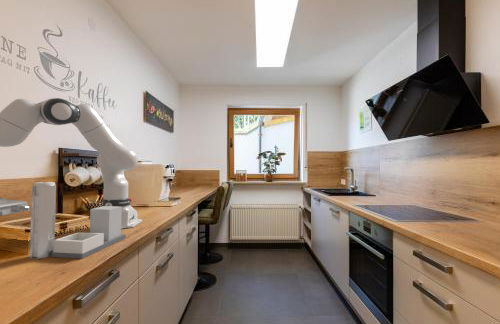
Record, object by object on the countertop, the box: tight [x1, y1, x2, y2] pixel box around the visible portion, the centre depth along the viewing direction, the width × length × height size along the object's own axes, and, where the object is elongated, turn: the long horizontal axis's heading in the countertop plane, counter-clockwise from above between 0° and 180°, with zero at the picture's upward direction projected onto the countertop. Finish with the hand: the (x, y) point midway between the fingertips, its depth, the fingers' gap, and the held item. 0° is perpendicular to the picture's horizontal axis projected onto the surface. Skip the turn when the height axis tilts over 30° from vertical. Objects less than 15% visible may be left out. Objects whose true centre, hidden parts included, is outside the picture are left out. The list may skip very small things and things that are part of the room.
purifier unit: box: [51, 205, 127, 260], centre depth 97 cm, size 24×11×14 cm, turn 174°
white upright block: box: [29, 181, 57, 260], centre depth 86 cm, size 6×6×25 cm
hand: (14, 211), depth 87 cm, fingers open, 8 cm apart
